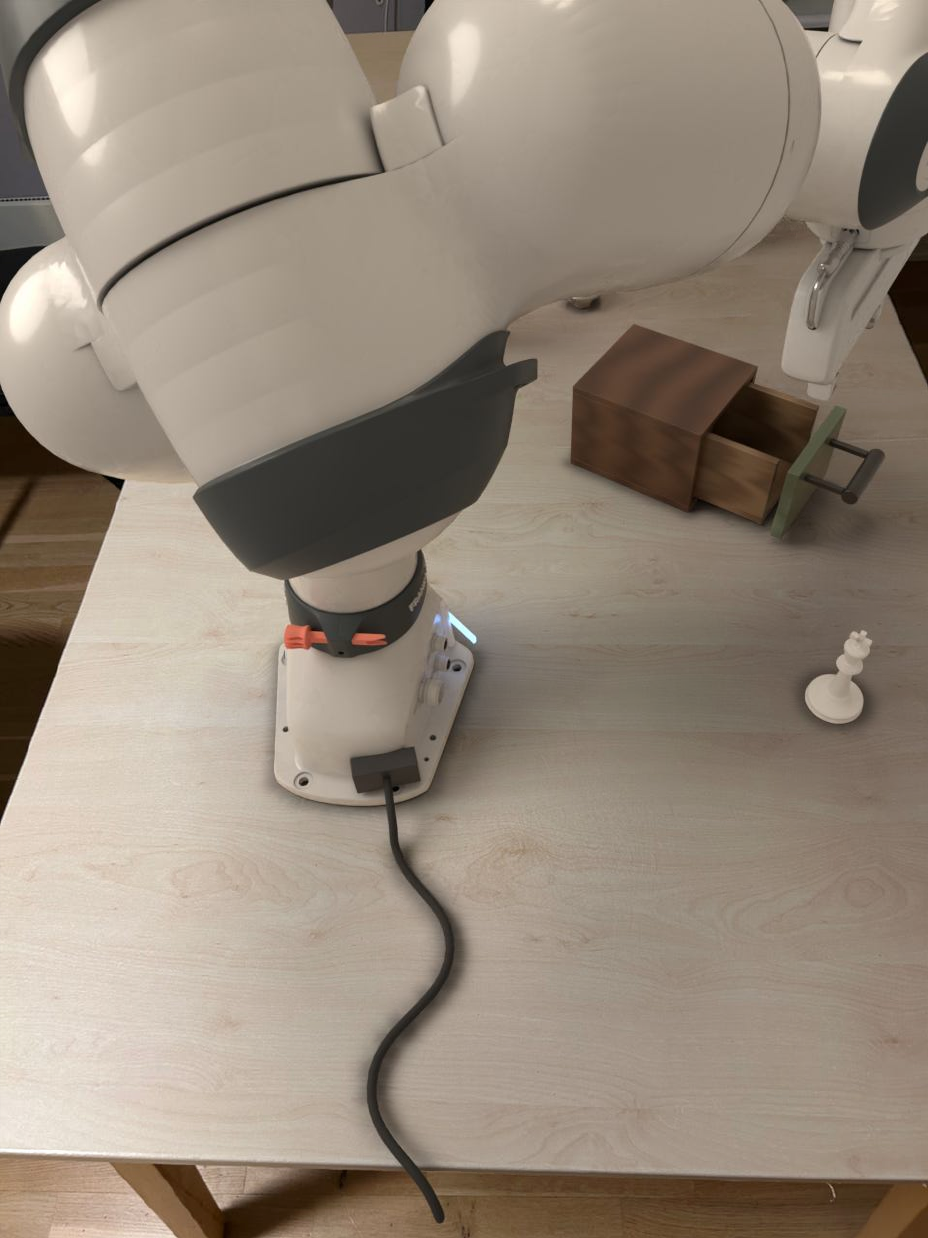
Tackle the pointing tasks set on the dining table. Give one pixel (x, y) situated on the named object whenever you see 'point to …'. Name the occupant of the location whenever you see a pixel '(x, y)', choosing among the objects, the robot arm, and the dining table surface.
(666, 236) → the robot arm
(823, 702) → the chess piece
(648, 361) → the cabinet
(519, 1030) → the dining table surface
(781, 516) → the drawer
